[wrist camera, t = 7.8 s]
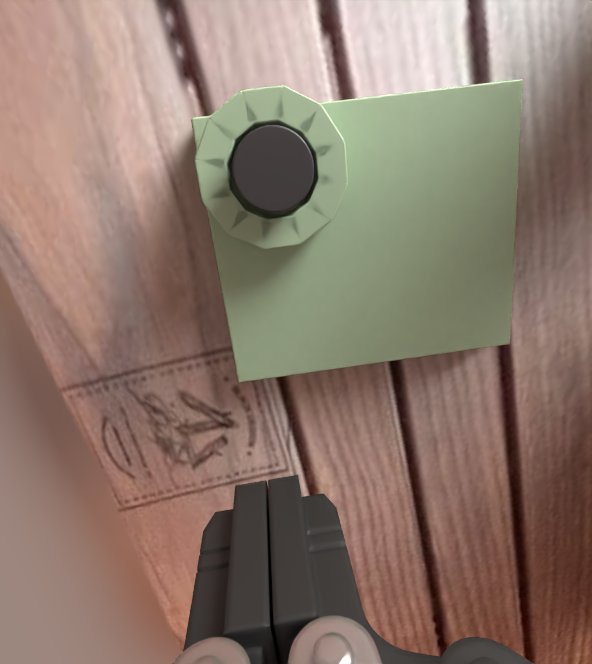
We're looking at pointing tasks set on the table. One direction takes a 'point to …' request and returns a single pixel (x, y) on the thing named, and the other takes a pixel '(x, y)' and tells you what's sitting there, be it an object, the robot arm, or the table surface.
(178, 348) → the table surface
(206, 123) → the scale
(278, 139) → the button
